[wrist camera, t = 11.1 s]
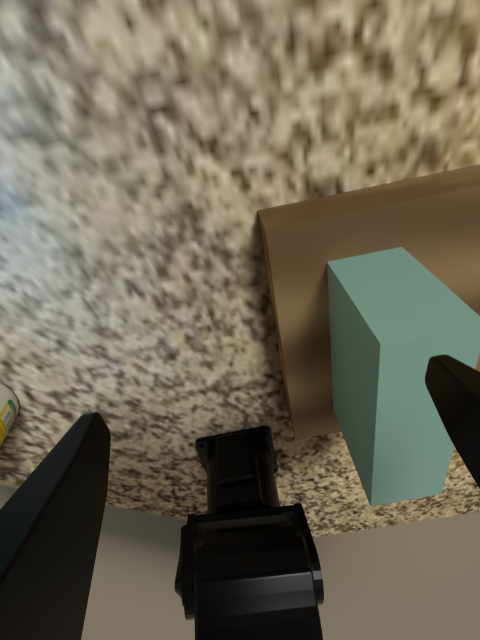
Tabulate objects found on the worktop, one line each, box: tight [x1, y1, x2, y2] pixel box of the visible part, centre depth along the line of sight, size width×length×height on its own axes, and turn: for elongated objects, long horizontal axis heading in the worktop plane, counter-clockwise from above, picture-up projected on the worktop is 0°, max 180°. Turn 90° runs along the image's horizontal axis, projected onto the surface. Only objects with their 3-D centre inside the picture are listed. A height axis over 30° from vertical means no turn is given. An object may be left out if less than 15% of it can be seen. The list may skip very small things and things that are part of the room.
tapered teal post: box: [327, 247, 480, 506], centre depth 20 cm, size 12×4×7 cm, turn 10°
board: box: [258, 165, 480, 440], centre depth 24 cm, size 17×18×3 cm
